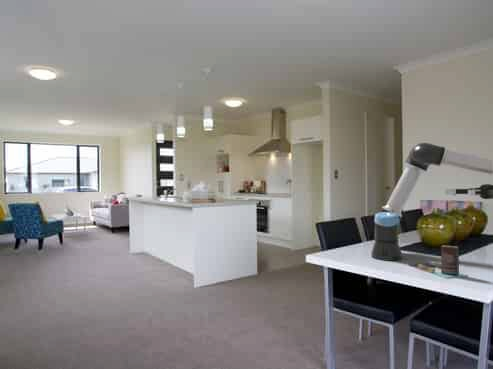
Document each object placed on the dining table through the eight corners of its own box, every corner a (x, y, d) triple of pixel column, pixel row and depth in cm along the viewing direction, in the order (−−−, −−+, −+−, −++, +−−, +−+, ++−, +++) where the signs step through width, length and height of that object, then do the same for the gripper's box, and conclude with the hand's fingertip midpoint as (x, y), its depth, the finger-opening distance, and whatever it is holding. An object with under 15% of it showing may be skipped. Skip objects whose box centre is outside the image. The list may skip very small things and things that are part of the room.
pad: (432, 273, 150) (432, 272, 150) (453, 271, 153) (453, 270, 153) (446, 278, 143) (446, 277, 143) (467, 276, 146) (467, 275, 146)
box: (459, 274, 148) (459, 246, 148) (456, 276, 145) (456, 248, 144) (443, 271, 152) (443, 244, 152) (440, 273, 149) (440, 246, 149)
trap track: (408, 265, 165) (408, 261, 165) (427, 263, 168) (427, 259, 168) (432, 273, 150) (432, 269, 150) (453, 271, 153) (453, 267, 153)
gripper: (516, 200, 159) (479, 201, 153) (468, 197, 183) (435, 198, 178) (516, 184, 159) (479, 185, 153) (468, 183, 183) (435, 184, 177)
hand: (456, 192), depth 165 cm, fingers open, 13 cm apart
